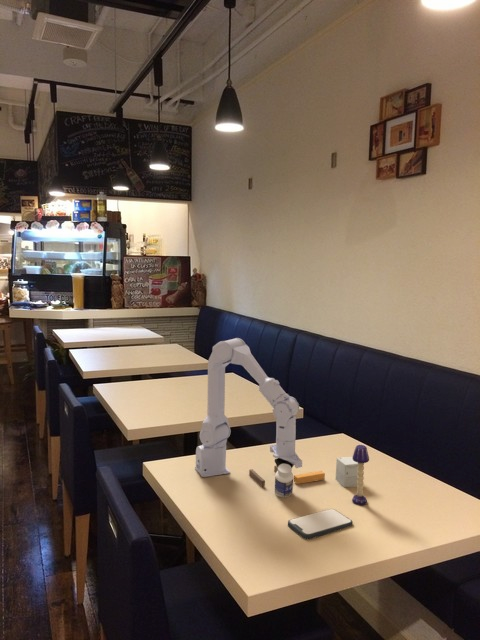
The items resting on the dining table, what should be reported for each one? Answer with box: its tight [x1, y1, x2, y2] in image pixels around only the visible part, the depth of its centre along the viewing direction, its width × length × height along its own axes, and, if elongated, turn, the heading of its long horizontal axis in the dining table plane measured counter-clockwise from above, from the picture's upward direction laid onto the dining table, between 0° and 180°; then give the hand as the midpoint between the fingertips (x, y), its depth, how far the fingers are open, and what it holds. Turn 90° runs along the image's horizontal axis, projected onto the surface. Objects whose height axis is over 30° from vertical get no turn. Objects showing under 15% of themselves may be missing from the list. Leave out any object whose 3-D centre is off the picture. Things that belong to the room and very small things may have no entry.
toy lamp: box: [351, 444, 370, 506], centre depth 147 cm, size 5×5×17 cm
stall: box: [248, 464, 278, 488], centre depth 162 cm, size 10×9×2 cm
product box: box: [334, 456, 358, 488], centre depth 160 cm, size 6×6×7 cm
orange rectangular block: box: [293, 470, 326, 485], centre depth 161 cm, size 10×2×2 cm, turn 114°
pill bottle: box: [274, 464, 294, 498], centre depth 150 cm, size 5×5×9 cm
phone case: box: [287, 508, 354, 540], centre depth 134 cm, size 9×2×16 cm
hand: (285, 482), depth 154 cm, fingers closed, pressing on pill bottle
